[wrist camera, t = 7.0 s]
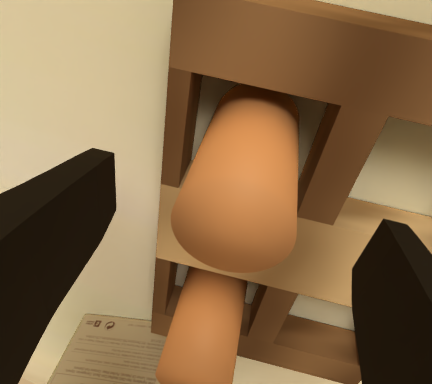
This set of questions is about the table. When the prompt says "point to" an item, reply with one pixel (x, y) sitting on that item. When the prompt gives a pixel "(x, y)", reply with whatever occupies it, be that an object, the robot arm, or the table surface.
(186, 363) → the pin
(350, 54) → the wooden grid frame
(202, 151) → the loose pin
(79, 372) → the supplement box
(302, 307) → the table surface
